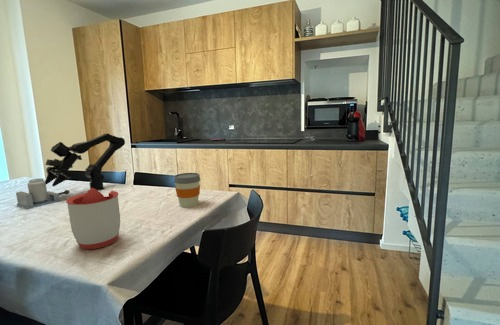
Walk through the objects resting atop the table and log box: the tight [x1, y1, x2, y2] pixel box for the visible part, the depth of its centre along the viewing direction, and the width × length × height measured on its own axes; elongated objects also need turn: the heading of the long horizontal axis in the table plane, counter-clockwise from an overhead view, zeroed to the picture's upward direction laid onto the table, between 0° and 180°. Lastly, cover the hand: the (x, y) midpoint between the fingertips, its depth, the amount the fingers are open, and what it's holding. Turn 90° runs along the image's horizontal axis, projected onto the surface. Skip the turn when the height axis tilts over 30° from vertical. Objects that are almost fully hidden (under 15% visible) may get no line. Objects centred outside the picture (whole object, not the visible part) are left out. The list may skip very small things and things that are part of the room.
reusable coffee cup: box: [173, 172, 201, 208], centre depth 133 cm, size 13×12×15 cm
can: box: [27, 178, 48, 203], centre depth 142 cm, size 8×8×12 cm
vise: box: [15, 189, 70, 210], centre depth 145 cm, size 22×13×7 cm, turn 148°
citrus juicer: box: [65, 188, 121, 250], centre depth 94 cm, size 16×17×20 cm
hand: (48, 185), depth 146 cm, fingers open, 9 cm apart
